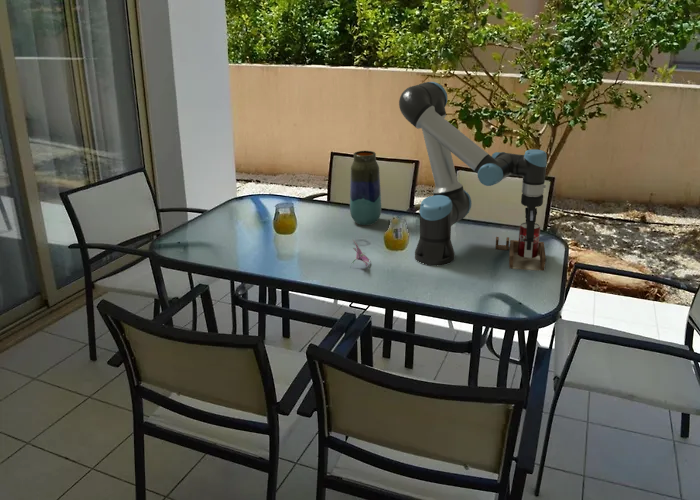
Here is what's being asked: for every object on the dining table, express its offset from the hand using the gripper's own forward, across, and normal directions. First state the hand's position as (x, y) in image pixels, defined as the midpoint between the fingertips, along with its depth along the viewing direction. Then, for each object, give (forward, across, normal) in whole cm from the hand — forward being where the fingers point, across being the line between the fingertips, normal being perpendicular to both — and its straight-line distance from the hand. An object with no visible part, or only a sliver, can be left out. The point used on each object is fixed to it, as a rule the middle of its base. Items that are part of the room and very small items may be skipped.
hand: (527, 252), depth 232 cm
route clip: (+4, +13, +9) cm, 16 cm away
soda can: (+1, 0, 0) cm, 1 cm away
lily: (+4, -14, +60) cm, 62 cm away
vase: (+4, +33, +68) cm, 76 cm away
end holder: (+4, +2, 0) cm, 4 cm away
